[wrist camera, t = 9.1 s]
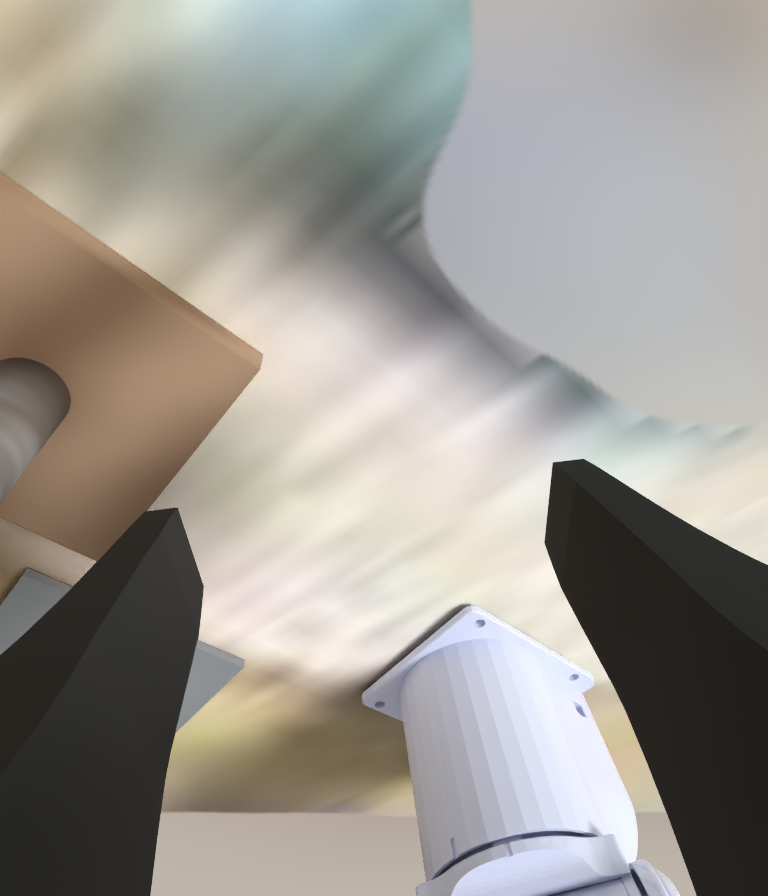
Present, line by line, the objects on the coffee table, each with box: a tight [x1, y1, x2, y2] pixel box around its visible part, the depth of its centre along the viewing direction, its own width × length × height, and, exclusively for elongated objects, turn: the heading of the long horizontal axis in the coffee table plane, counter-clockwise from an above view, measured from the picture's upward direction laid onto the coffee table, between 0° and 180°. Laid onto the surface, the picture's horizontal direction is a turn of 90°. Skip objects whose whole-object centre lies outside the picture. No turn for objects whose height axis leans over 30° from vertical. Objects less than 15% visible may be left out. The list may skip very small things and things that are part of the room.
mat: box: [0, 568, 244, 733], centre depth 26 cm, size 10×10×1 cm
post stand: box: [0, 172, 263, 561], centre depth 16 cm, size 10×10×6 cm
